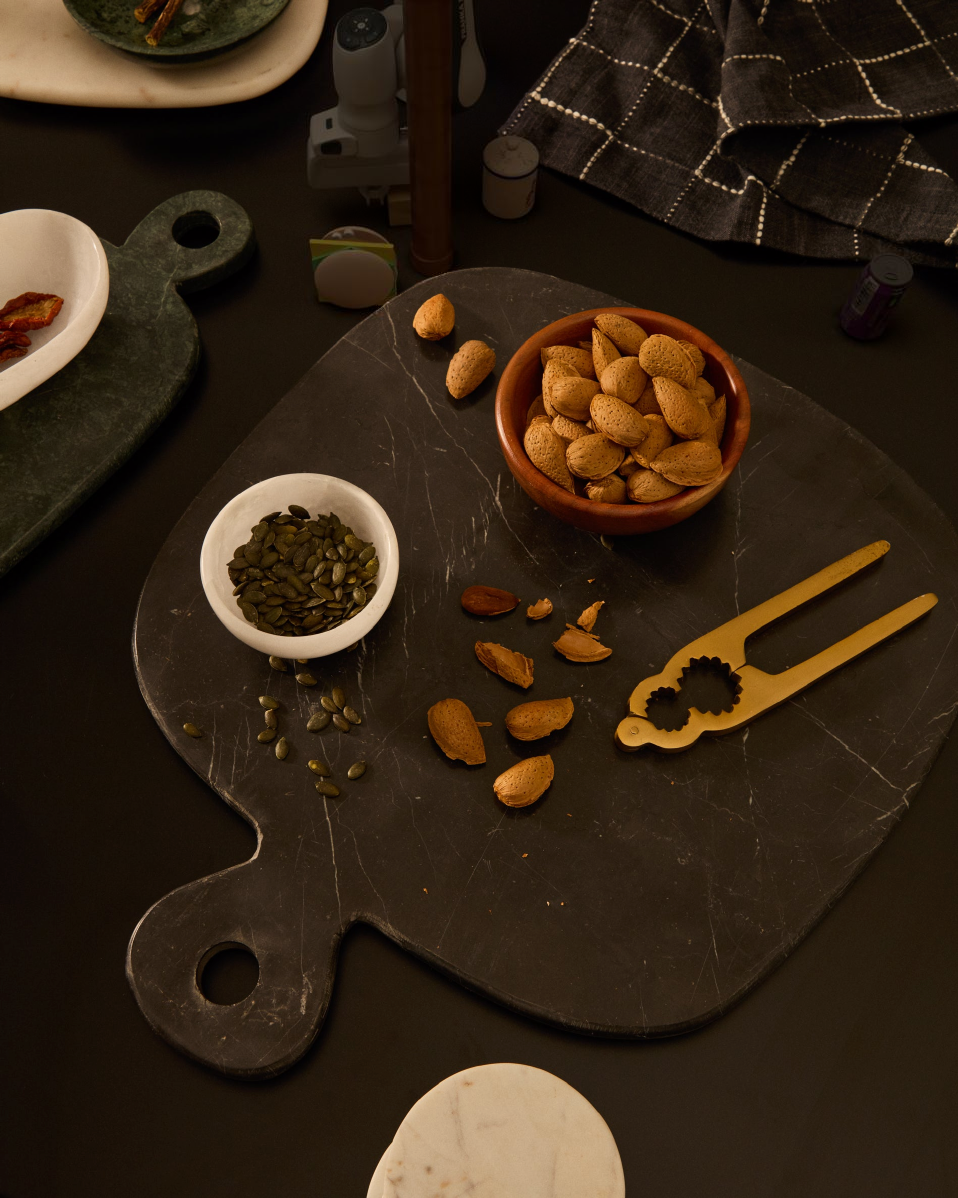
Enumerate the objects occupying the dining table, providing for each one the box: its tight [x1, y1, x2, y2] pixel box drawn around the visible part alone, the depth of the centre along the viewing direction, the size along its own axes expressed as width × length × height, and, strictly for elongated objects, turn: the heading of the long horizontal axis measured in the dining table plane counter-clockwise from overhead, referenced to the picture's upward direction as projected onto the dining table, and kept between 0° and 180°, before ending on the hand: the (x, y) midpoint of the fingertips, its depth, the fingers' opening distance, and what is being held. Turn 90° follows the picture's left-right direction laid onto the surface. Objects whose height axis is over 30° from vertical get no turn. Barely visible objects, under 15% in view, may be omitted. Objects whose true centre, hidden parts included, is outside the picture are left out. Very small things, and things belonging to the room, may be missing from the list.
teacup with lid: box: [481, 135, 541, 220], centre depth 156 cm, size 12×9×12 cm
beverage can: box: [838, 252, 914, 341], centre depth 147 cm, size 7×7×12 cm
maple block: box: [385, 184, 412, 227], centre depth 157 cm, size 6×6×5 cm
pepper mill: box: [402, 0, 454, 277], centre depth 132 cm, size 7×7×50 cm
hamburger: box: [309, 225, 398, 310], centre depth 146 cm, size 12×8×12 cm
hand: (375, 202), depth 157 cm, fingers closed
